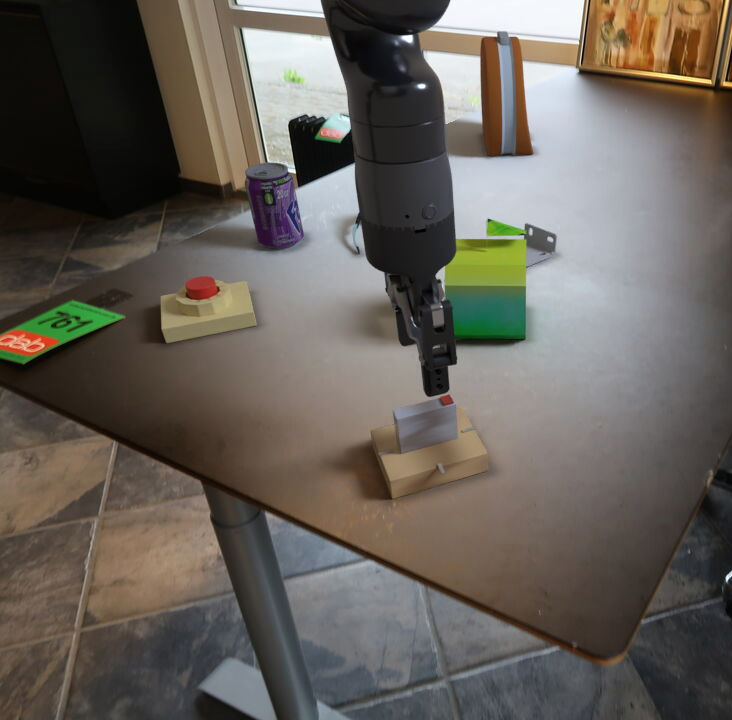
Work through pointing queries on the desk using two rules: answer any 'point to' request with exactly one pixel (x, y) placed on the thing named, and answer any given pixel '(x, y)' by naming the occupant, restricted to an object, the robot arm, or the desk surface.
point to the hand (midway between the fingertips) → (423, 366)
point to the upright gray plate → (426, 423)
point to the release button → (201, 288)
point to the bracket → (538, 244)
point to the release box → (206, 312)
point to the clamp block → (429, 459)
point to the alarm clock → (503, 96)
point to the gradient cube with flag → (489, 285)
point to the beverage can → (273, 205)
